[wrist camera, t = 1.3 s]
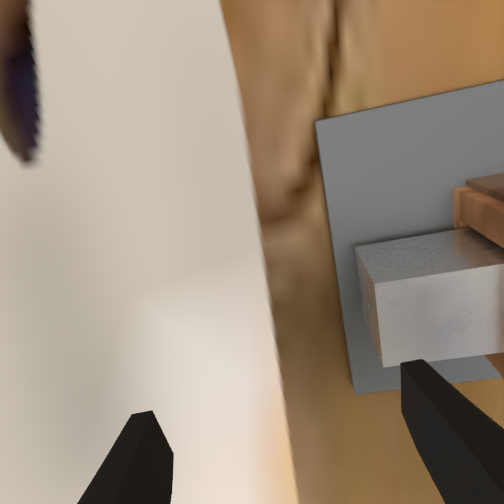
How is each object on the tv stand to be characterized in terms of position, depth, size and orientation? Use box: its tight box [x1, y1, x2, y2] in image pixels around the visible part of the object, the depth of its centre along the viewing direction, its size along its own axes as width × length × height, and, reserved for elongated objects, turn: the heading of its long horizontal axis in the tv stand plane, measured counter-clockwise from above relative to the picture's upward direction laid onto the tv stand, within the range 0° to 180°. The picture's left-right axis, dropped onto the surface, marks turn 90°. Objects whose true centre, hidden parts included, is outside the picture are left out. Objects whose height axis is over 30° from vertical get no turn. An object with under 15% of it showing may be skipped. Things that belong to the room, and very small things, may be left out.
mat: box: [314, 79, 504, 395], centre depth 19 cm, size 16×17×1 cm
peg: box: [355, 227, 504, 367], centre depth 16 cm, size 4×8×4 cm, turn 102°
